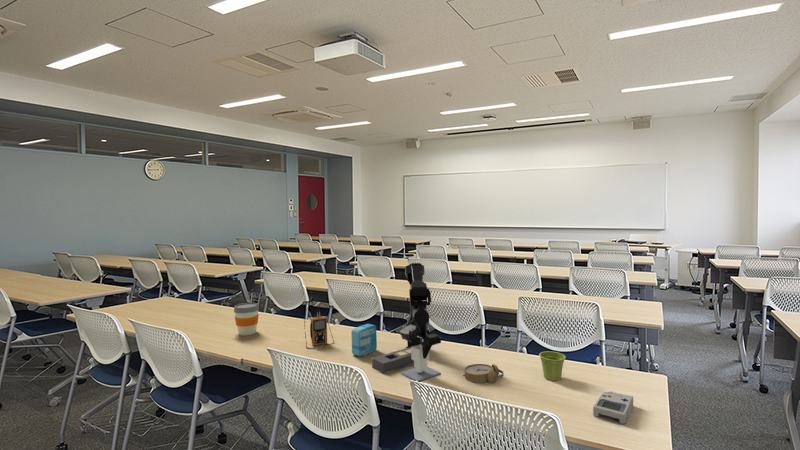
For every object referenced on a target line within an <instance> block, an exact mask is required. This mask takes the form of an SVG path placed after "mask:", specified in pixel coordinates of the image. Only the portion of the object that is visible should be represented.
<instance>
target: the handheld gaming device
mask: <svg viewBox="0 0 800 450" xmlns="http://www.w3.org/2000/svg"><path fill="white" fill-rule="evenodd" d="M633 407H634V396H633V395H628V394H623V393H618V392H615V391H614V392H613V391H606V392H602V393H601V394H600V395H599V397H598V398H597V400H596V401H595V403H594V404H593V407H592V409H593V410H592V413H593V414H592V415H593V416H594V417H596V418H598V417H600V415H603V416H606V417H609V418H612V419H617V420H619V424H622V425H625V424H626V423H627V421H628V419H629V416H630V414H631V412H632V409H633Z"/></svg>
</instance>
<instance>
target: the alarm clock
mask: <svg viewBox="0 0 800 450" xmlns="http://www.w3.org/2000/svg"><path fill="white" fill-rule="evenodd" d="M463 371H464V374H463V375H462V377H464V379H465V380H467V381H468V382H470V383H476V384H479V383H481V384H482V383H489V384H495V382H497V379H501V378H503V377H504V376H505V374H504V371H503V370H502V369H499V367H498V365H496V364H491V365H489V364H487V363H475V364H473V363H472V364H469V365H467V366H465V367H464V368H463Z"/></svg>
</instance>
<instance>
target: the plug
mask: <svg viewBox="0 0 800 450" xmlns="http://www.w3.org/2000/svg"><path fill="white" fill-rule="evenodd" d="M411 359H412V360H414V364H413V369H414V370H416V371H418V372H423V371H426V370H427V367H428V361H430V352H429V353H428V355H427V357H426V358H425V359H424V358H423V351H422V346H421V344H419V345H416V346H412V347H411Z"/></svg>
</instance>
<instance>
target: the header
mask: <svg viewBox="0 0 800 450" xmlns="http://www.w3.org/2000/svg"><path fill="white" fill-rule="evenodd" d="M371 363H372V368H373V369H374V370H376V371H378V372H380V373H382V374H386V373H389V372H393V371H396V370H398V369H402V368H405V367H408V366H411V365H414V360H412V359H411V347H409V348H406V347H405V348H403V349H399V350H395V351H391V352H388V353H384V354H382V355H378V356H374V357H371Z"/></svg>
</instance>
